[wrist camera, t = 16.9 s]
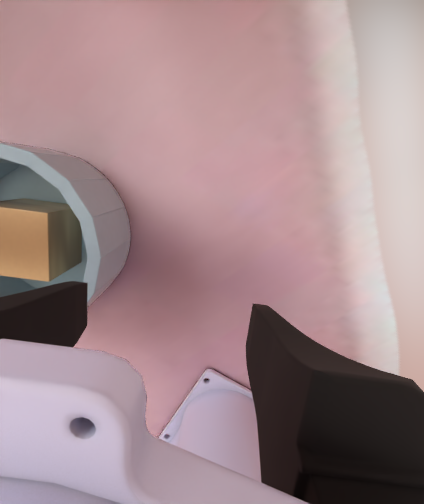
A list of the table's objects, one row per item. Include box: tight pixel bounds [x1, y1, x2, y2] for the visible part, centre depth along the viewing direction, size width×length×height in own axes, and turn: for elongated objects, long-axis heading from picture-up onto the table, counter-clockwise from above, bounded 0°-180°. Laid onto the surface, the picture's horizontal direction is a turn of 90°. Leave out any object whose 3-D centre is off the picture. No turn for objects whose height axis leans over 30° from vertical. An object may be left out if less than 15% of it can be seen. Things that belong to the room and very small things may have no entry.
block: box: [0, 198, 82, 282], centre depth 20 cm, size 4×4×4 cm
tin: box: [0, 141, 131, 308], centre depth 20 cm, size 12×12×6 cm
